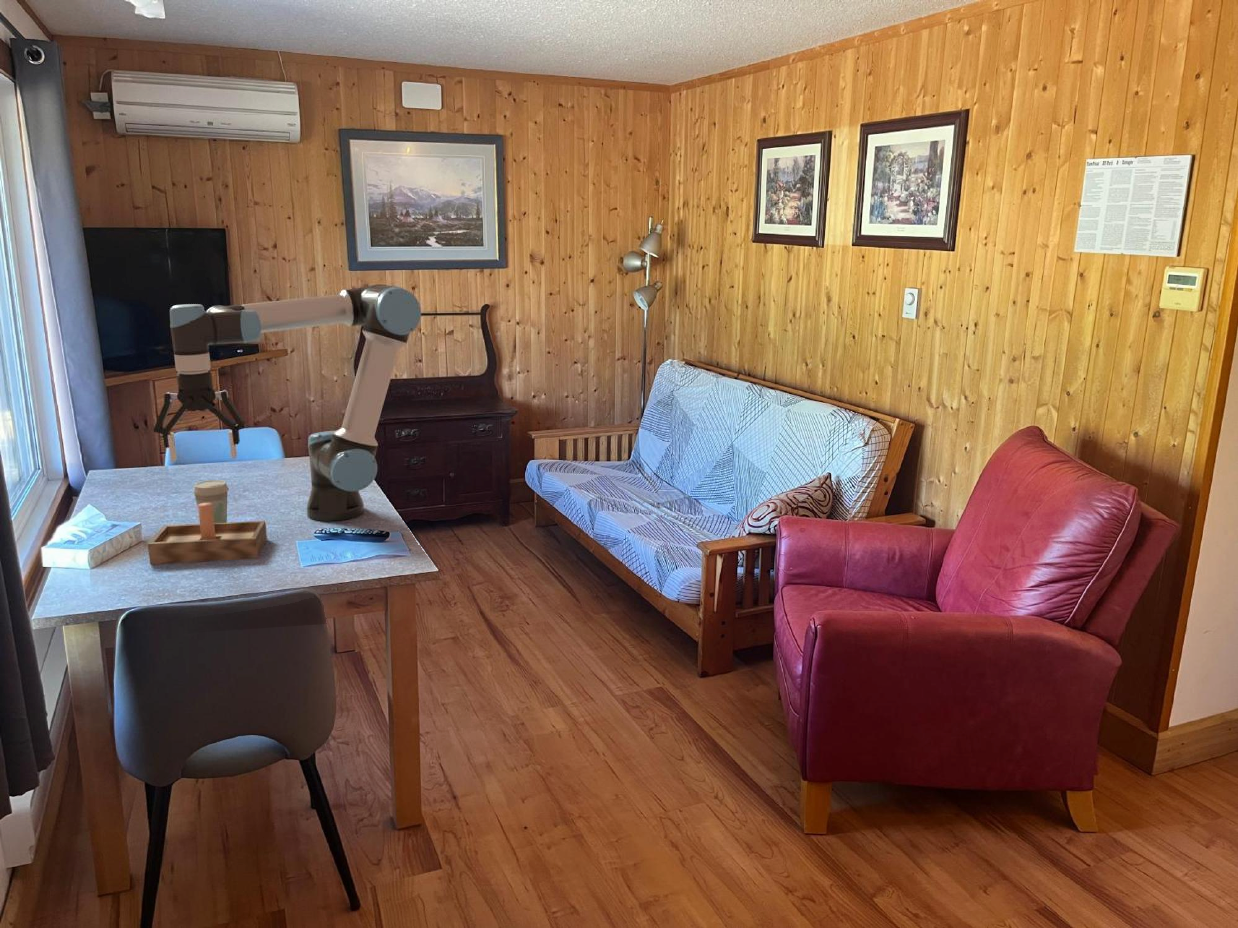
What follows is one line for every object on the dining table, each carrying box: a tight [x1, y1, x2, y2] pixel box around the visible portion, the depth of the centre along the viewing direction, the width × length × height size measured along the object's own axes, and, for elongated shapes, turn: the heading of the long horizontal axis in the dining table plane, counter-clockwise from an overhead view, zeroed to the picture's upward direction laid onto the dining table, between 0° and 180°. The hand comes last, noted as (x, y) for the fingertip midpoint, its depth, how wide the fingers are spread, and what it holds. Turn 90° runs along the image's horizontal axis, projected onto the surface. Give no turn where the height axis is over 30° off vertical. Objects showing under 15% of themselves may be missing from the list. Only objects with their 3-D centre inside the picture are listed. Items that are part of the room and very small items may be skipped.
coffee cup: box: [192, 479, 229, 523], centre depth 249 cm, size 8×8×12 cm
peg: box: [197, 503, 216, 540], centre depth 231 cm, size 3×3×12 cm
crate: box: [147, 520, 268, 565], centre depth 232 cm, size 24×14×5 cm, turn 101°
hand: (204, 459), depth 229 cm, fingers open, 13 cm apart
